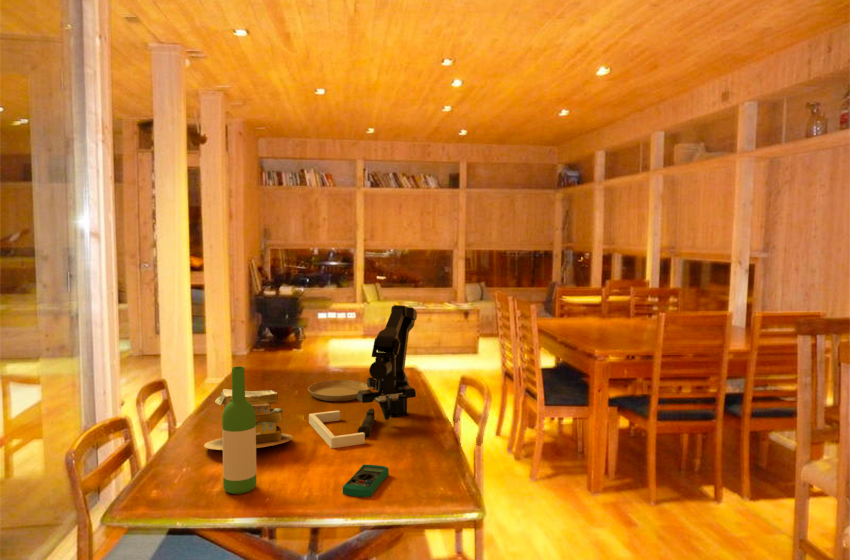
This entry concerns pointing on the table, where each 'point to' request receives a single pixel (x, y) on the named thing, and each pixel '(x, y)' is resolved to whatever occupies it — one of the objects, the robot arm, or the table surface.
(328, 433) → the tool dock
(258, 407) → the plate of stacked boxes
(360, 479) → the digital multimeter
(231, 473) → the wine bottle
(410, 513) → the table surface
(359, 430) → the hand tool
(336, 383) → the plant saucer
